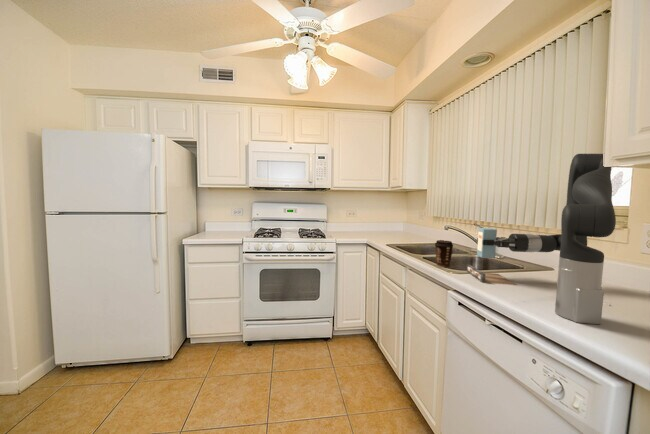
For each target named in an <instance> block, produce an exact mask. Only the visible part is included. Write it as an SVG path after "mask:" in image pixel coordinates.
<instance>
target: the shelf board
mask: <svg viewBox="0 0 650 434" xmlns="http://www.w3.org/2000/svg"><path fill="white" fill-rule="evenodd" d="M466 273H468V274H470V275H471V277H473V278H475V279H476V280H478V281H479V282H480V283H483V284H493V285H494V284H498V285H511V286H518V284H517V283H515V282H514V281H512V280H510V279H508V278H507V277H504V275H501V274H499V273H492V272H483V271H481V270H479V269H478V268H476V267H475V266H473V265H471V264H467V266H466Z"/></svg>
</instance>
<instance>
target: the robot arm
mask: <svg viewBox="0 0 650 434" xmlns="http://www.w3.org/2000/svg"><path fill="white" fill-rule="evenodd" d="M603 154H604V153H576V154H575V155H574V156H573V157H572V160H571V163H570V166H569V172H568V181H567V191H566V205H565V206H564V207H563V208H562V210H561V211H562V212H561V231H560V233H559V234H550V235H546V234H545V235H544V234H532V233H510V235H509V236H508V237H505V236H496V240H494V241H493V240H483V245H491V246H496V248H506V249H507V248H509V251H511V252H517V253H519V252H520V253H551V252H554V251H558V252H559V257H558V258H559V259H558V266H557V267H558V269H557V280H556V283H557V284H556V293H555V304H554V305H555V307H554V312H555V314H557V315H558V316H560V317H562V318H565V319H566V320H571V321H573V322H575V323H579V324H580V323H581V324H590V325H602V317H603V316H602V315H603V306H604V303H603V300H604V294H605V291H604V290H602V284H603V283H602V282H603V273H604V263H605V253H604V252H602V251H601V250H599V249H597V248H593V247H590V246H588V237H590V238H592V237H593V238H607V237H610V236H611V235H612V234H613V233H614V231H615V228H616V224H617V223H616V222H617V220H616V212H615V208H614V204H613V197H612V195H613V185H612V180H611V179H612V178H611V173H612V167H613V166H612V167H604V166H603ZM476 242H477V243H478V237H477V238H476Z"/></svg>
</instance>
